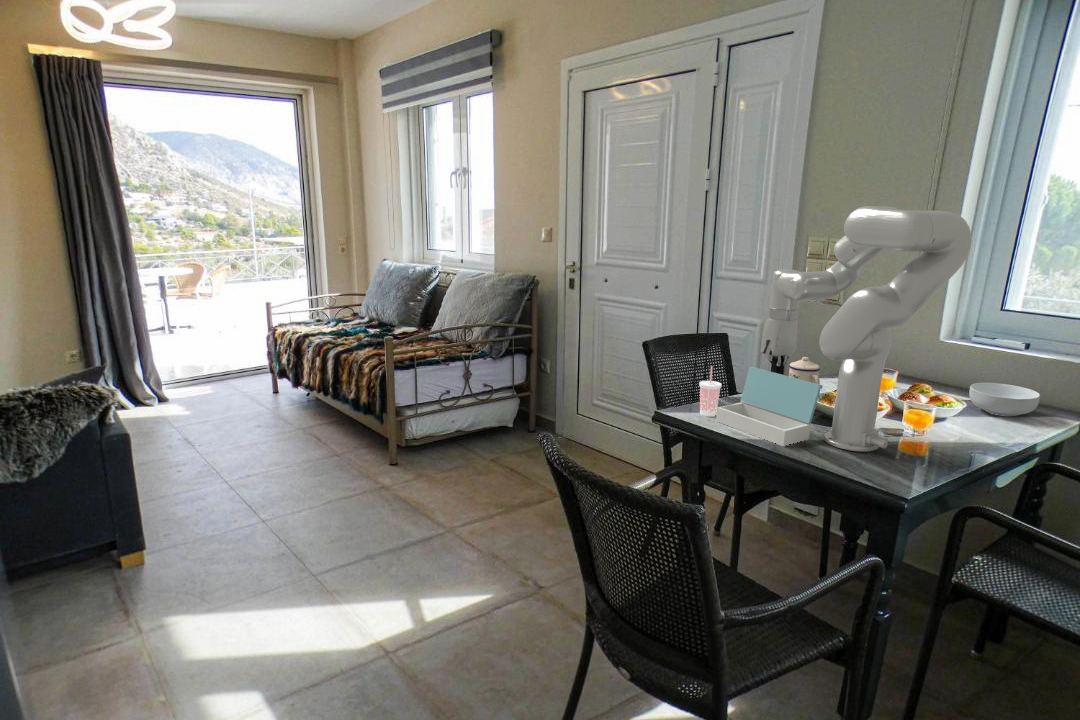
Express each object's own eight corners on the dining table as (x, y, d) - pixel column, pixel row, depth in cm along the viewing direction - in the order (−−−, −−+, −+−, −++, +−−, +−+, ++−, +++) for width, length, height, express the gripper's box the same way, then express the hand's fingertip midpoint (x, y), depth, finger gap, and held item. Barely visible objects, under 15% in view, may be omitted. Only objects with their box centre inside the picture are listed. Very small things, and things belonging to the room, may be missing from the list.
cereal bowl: (963, 401, 199) (966, 379, 197) (1028, 409, 191) (1033, 386, 190) (970, 416, 184) (974, 393, 182) (1041, 426, 177) (1047, 401, 175)
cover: (808, 424, 162) (811, 424, 163) (819, 384, 161) (822, 385, 162) (740, 401, 180) (743, 402, 181) (749, 366, 179) (753, 366, 180)
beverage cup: (720, 412, 184) (724, 365, 181) (717, 418, 179) (721, 369, 176) (699, 409, 187) (702, 362, 184) (695, 415, 181) (698, 367, 178)
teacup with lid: (780, 389, 208) (784, 354, 206) (804, 388, 211) (808, 353, 208) (803, 400, 197) (808, 363, 194) (829, 398, 199) (833, 362, 197)
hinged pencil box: (808, 439, 163) (810, 424, 163) (783, 446, 158) (784, 431, 157) (740, 415, 182) (742, 402, 181) (715, 421, 176) (717, 407, 176)
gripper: (789, 310, 185) (782, 372, 189) (754, 314, 177) (747, 379, 181) (812, 314, 178) (804, 378, 183) (776, 319, 171) (769, 385, 175)
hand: (776, 378), depth 182 cm, fingers closed
